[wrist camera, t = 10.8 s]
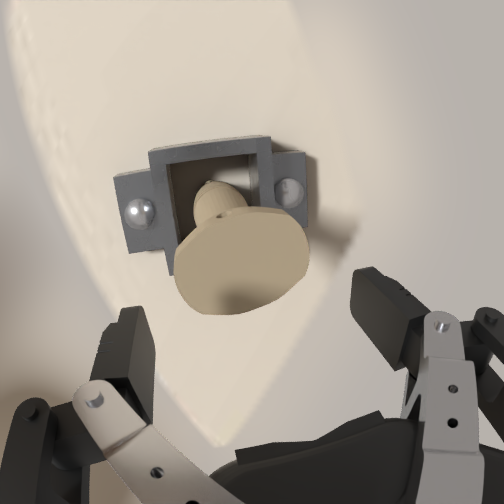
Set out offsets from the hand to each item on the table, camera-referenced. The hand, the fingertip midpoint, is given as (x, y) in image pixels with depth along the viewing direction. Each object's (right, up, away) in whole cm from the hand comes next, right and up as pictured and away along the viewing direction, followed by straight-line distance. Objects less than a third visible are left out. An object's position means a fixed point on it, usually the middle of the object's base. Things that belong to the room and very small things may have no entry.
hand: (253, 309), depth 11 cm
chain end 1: (-6, +7, +16) cm, 19 cm away
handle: (-4, +7, +17) cm, 19 cm away
